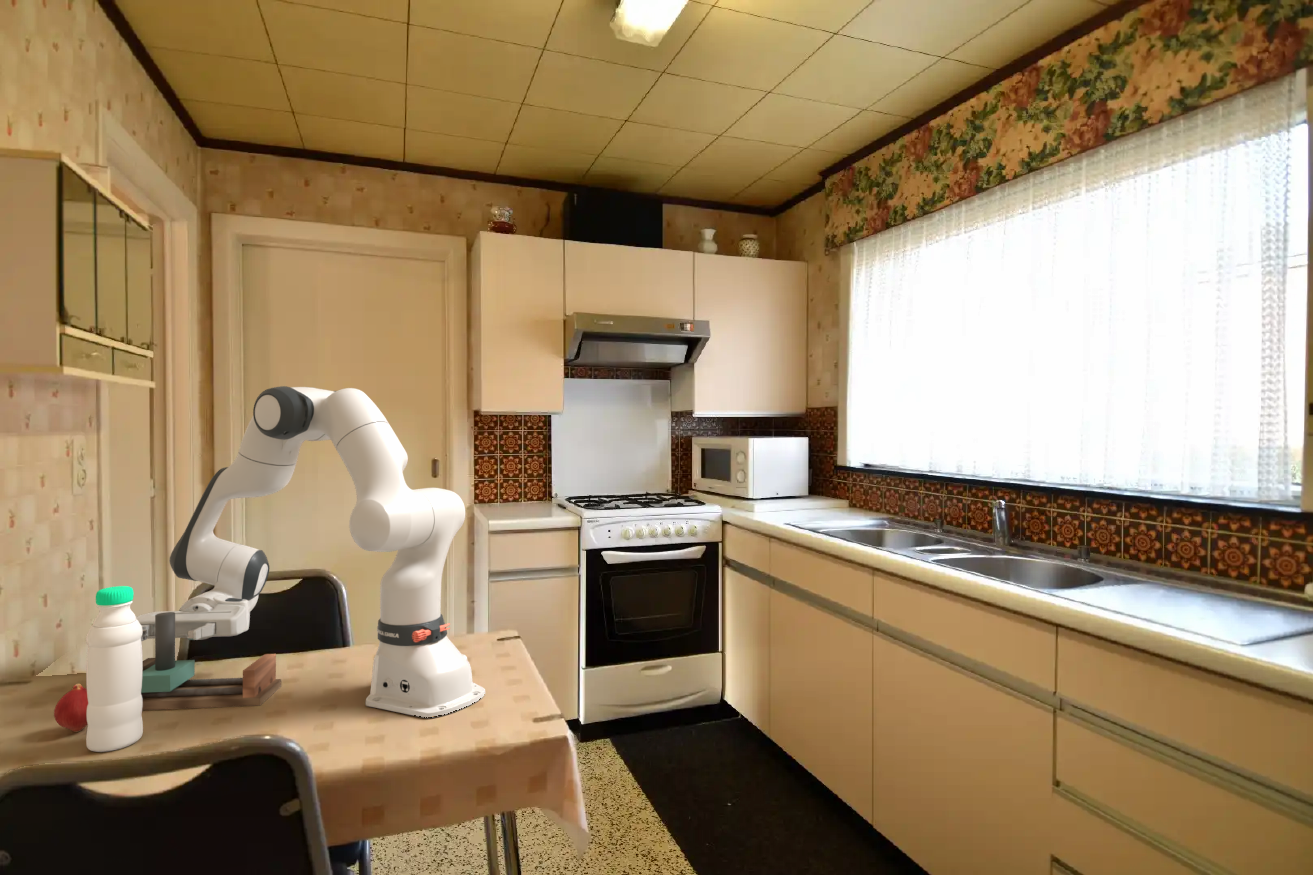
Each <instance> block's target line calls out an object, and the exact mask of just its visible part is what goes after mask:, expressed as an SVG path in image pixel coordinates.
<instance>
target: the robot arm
mask: <svg viewBox="0 0 1313 875" xmlns="http://www.w3.org/2000/svg"><path fill="white" fill-rule="evenodd" d="M253 404H254V405H253V408H252V410H253V411H252V413H253V414H252V417H251V419H250V420H249V422H248V424H247V427H246V429H245V431H244V434H243V436H242V439H241V442H240V444H239V449H238V453H237V455H236V457H235V459H234V460H233V462H232V463H231V464H230V465H229V466H226V467H221V468H220V469H218V471H216V473H214V474H213V476H212V477H211V479H210V481H209V483H208V484H207V485H206V488H205V489H204V491H203V494H202V496H201V497H200V499H199V501H198V503H197V505H196V507H195V509H194V512H193V513H192V516H191V517H190V519H189V522H188V524H187V526H186V528H185V529H184V531H183V533H182V535H181V536H180V537H179V540H178V542H177V543H176V544H175V546H174V548H173V550H172V552H171V553H170V556H169V565H170V567H171V569H172V571H173V573H174V574H175V576H176V577H177V578H179V579H185V580H188V581H189V580H190V581H194V582H201V583H203V584H208V585H212V586H214V587H213V588H212V589H211V590H209V591H205V592H202V593H200V594H199V595H196V596H193V597H192V598H190V599H188V600H185V602H184V603H182V605H181V606H180V607H179V610H167V611H165V610H162V611H161V610H160V611H159V610H158V611H152V612H147V613H143V614H139V615H137V616H136V619H137V620H138V621H139V623H140V624H141V626H142V630H143V633H142V636H141V642H143V641H146V640H148V639H149V640H151V639H152V640H153V639H155V615H157V614H160V613H165V612H175V639H178V638H179V639H180V638H181V639H182V638H184V639H185V638H187V640H188V641H195V640H196V641H198V640H201V641H202V640H207V639H209V638H212V637H218V638H219V637H233V636H238V635H240V634H242V633H244V632H247V631H248V630H249V629H250V628H249V627H250V621H251V620H250V618H251V616H250V615H251V611H252V610H253V609H254V608H255V607H256V605H257V602H258V599H259V595H260V594H261V592H262V591H263V589H264V587H265V586H266V583H267V581H268V578H269V574H270V563H269V561H268V557H267V555H266V553H265V552H264V551H263V550H262V549H258V548H256V547H252V546H249V545H246V544H242V543H237V542H233V541H229V540H227V539H222V538H220V537H217V536H216V534H215V533H214V530H215V527H216V525H217V523H218V521H219V519H220V517H221V516H222V513H223V510H225V507H226V505H227V503H228V502H229V501H230V500H235V499H244V498H245V499H246V498H248V499H249V498H260V497H261V498H262V497H265V496H266V497H267V496H269V495H273V494H276V493H278V492H280V491H281V490H283V489H284V488H285V487H286V486H288V484H290V481H291V479H292V478H293V474H294V473H295V469H296V466H297V462H298V458H299V454H300V449H301V448H302V444H303V443H304V442H306V441H307V442H320V441H323V442H324V441H329V440H330V441H331V442H332V444H333V446H334V448H335V450H336V451H337V454H338V455H339V457H340V459H341V460H342V462H343V464H344V467H345V468H346V470H347V472H348V474H349V475H350V478H351V479H352V482H353V485H354V487H355V488H354V489H355V495H356V503H355V504H354V505H355V506H354V507H353V509H352V510H351V513H350V516H349V525H348V528H349V532H350V536H351V537H352V540H353V541H354V542H355V545H357V546H358V548H361V549H362V550H364V551H368V552H379V553H380V552H381V553H385V552H386V553H392V552H396V551H397V552H396V555H395V557H394V560H393V562H392V563H391V565H390V567H389V568H388V569H387V570H386V571H385V572H384V574H383V576H382V577H381V581H380V591H379V592H380V595H379V597H380V599H379V600H380V605H379V606H380V607H379V608H380V611H379V612H380V617H379V619H378V621H377V627H376V632H377V640H378V641H379V644H378V648H377V650H376V654H375V655H374V658H373V663H372V664H373V665H372V674H371V684H370V693H369V695H368V696H367V697H366V699H365V703H364V704H365V707H370V708H377V709H380V710H385V711H391V712H394V713H395V712H396V713H401V714H405V715H409V716H414V715H416V716H415V717H419V716H421V717H420V718H424V717H425V719H429V718H428V717H432V716H437V717H439V716H438V715H442V716H445V715H448V713H449V714H451V713H450V712H452V713H454V712H453V711H455V710H457V711H459V709H460V710H462V709H464V707H465V708H467V707H469V706H471V705H473V704H475V703H477V702H478V701H479V699H480V698H481V699H483V697H484V696H485V695H486V689H485V688H484V687H483V686H482V685H479V684H477V683H475V682H473V674H472V672H473V671H472V667H471V664H470V662H469V660H468V657H467V656H466V654H463V653H461V651H459V649H458V648H457V646H455V644H454V643H453V641H451V640H450V639H449V637H448V636H447V635H448V630H450V629H451V627H448V626H450V625H451V623H449V622H448V623H446V622H445V619H444V615H443V614H442V613H441V609H442V607H441V606H442V605H441V604H442V603H441V602H442V579H443V572H444V567H445V563H446V560H447V557H448V553H449V550H450V547H451V545H452V542H453V540H454V537H456V534H457V533H458V531H459V530H460V529H461V528H462V526H463V525H464V522H465V519H466V507H465V504H464V501H463V500H462V498H461V497H460V495H459V494H457V493H456V492H454V491H453V490H450V489H445V488H441V487H424V488H417V489H412V488H410V487H409V485H407V482H406V479H405V476H404V471H405V469H406V467H407V466H408V460H409V456H408V453H407V451H406V449H405V448H404V446H403V444H402V443H401V441H400V439H399V437H398V435H397V434H396V433H395V431H394V429H393V428H392V426H391V425H390V423H389V421H388V419H387V418H386V416H385V415H384V414H383V412H382V411H381V410H380V408H379V407H378V406H377V404H376V403H375V402H374V401H373V400H372V399H371V398H370V397H369V396H368V395H367V394H366V393H365V392H364V391H363V390H361V389H358V388H354V387H346V388H345V387H344V388H342V389H339V390H329V389H324V388H323V389H322V388H317V387H308V386H285V385H284V386H283V385H281V386H274V387H270V388H267V389H264V390H263V391H262V392H261V393H260V394H258V396H257V398H256V399H255V402H254V403H253ZM484 694H485V695H484ZM481 699H480V700H481ZM474 702H475V703H474ZM472 703H473V704H472ZM466 706H467V707H466ZM461 708H462V709H461ZM455 712H456V711H455ZM444 714H445V715H444ZM426 717H427V718H426ZM432 718H433V717H432Z"/></svg>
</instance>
